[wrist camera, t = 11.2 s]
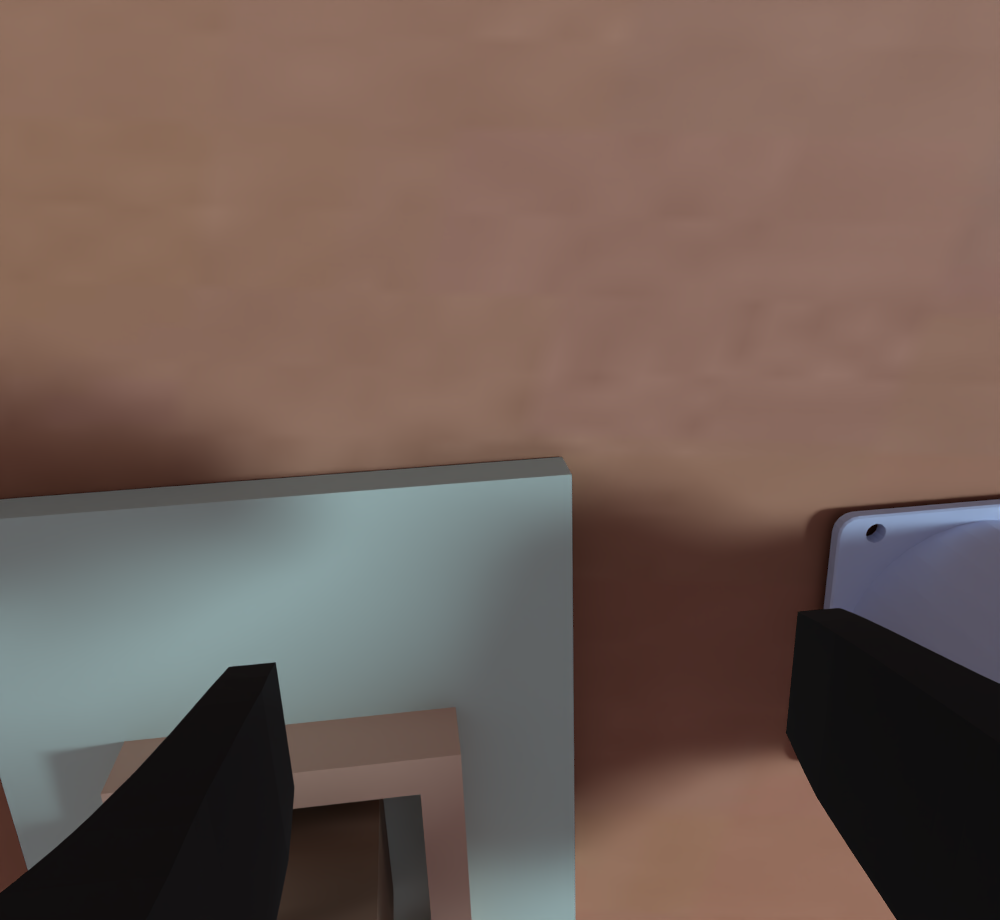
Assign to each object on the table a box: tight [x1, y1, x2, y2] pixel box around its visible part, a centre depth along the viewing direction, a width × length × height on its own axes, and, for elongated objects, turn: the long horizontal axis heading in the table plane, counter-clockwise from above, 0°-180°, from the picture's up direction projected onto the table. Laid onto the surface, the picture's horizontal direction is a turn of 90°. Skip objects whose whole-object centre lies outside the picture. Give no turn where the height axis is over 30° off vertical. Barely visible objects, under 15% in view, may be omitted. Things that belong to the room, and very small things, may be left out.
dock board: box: [0, 457, 575, 920], centre depth 22 cm, size 14×20×3 cm
